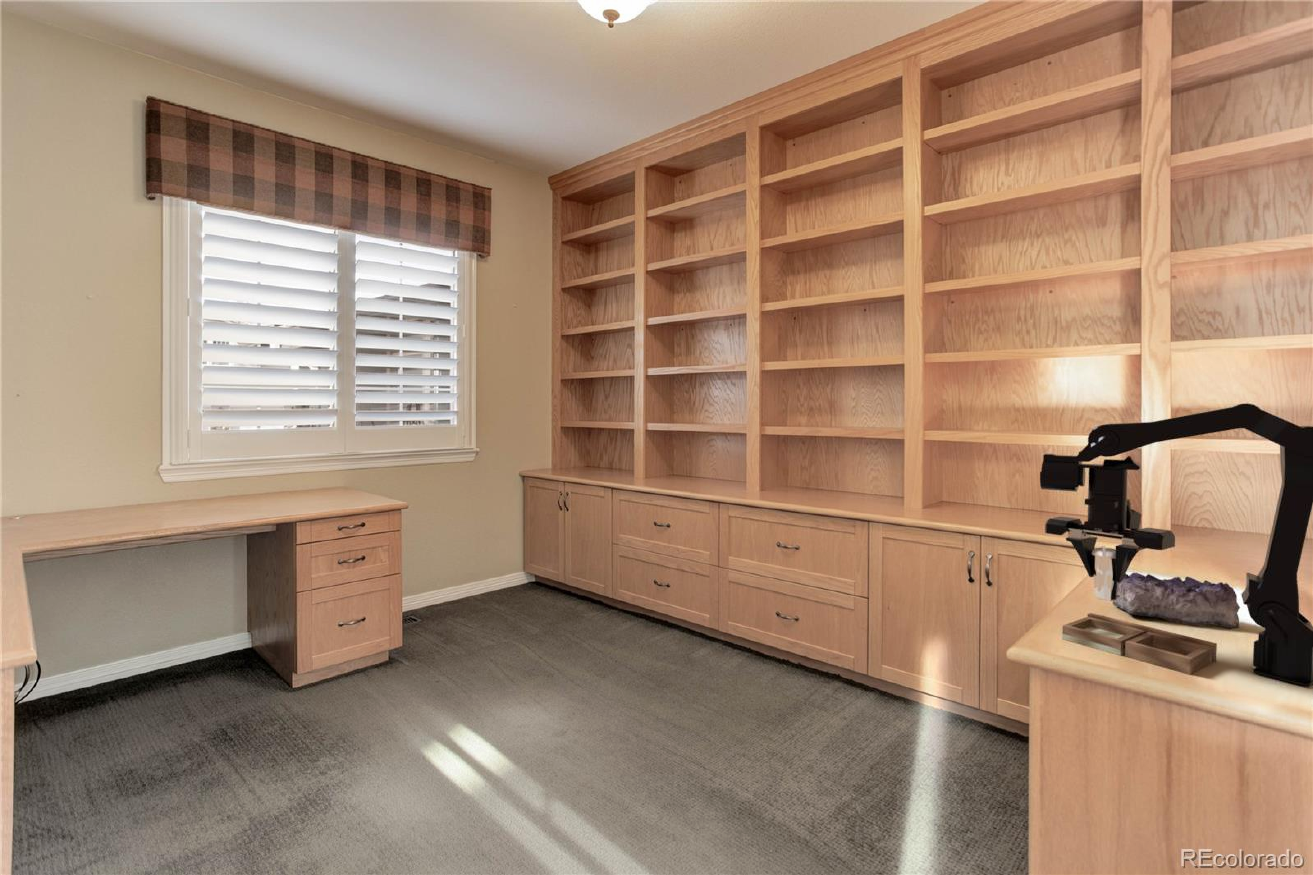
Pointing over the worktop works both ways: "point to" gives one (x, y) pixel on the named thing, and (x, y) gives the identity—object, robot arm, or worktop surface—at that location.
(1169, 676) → the worktop surface
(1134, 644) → the divided wooden tray
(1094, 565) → the milkshake
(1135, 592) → the geode
